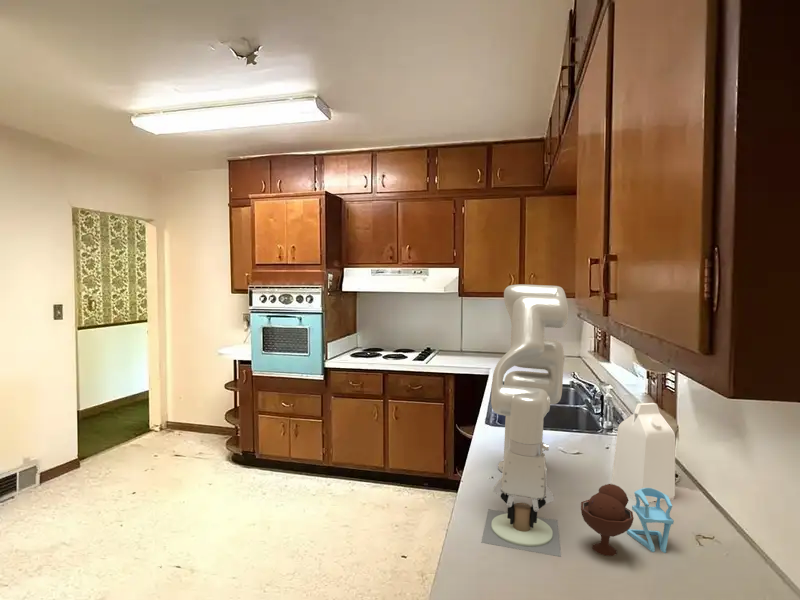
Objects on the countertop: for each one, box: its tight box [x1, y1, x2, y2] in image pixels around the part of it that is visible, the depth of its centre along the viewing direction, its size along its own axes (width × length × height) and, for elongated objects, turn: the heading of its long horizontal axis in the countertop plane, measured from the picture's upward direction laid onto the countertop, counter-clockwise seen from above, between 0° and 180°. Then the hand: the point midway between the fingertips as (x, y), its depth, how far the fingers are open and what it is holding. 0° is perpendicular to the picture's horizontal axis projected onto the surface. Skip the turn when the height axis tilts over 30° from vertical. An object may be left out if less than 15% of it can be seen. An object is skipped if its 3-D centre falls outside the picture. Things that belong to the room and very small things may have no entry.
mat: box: [480, 508, 562, 558], centre depth 114 cm, size 17×17×1 cm
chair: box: [626, 488, 675, 554], centre depth 112 cm, size 8×8×12 cm
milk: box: [610, 402, 676, 505], centre depth 139 cm, size 12×12×26 cm
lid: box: [491, 502, 553, 547], centre depth 114 cm, size 14×14×6 cm
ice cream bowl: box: [580, 483, 635, 557], centre depth 107 cm, size 11×11×15 cm
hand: (521, 522), depth 114 cm, fingers closed on lid, 4 cm apart
